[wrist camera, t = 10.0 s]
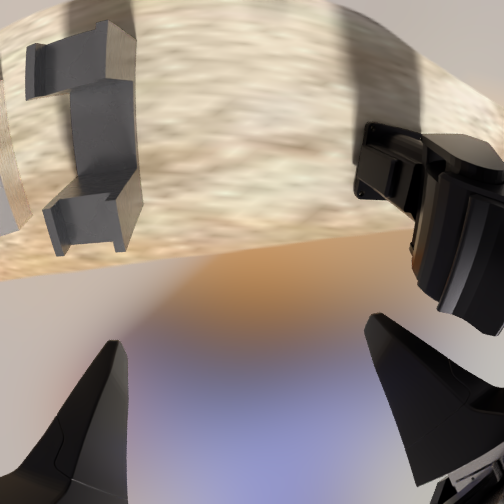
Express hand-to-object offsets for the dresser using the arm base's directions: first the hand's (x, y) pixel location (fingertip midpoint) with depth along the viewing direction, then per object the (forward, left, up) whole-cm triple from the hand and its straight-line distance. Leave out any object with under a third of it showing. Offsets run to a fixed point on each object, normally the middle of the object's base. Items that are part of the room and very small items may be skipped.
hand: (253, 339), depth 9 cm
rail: (+18, -5, -13) cm, 23 cm away
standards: (+8, -5, -13) cm, 16 cm away
